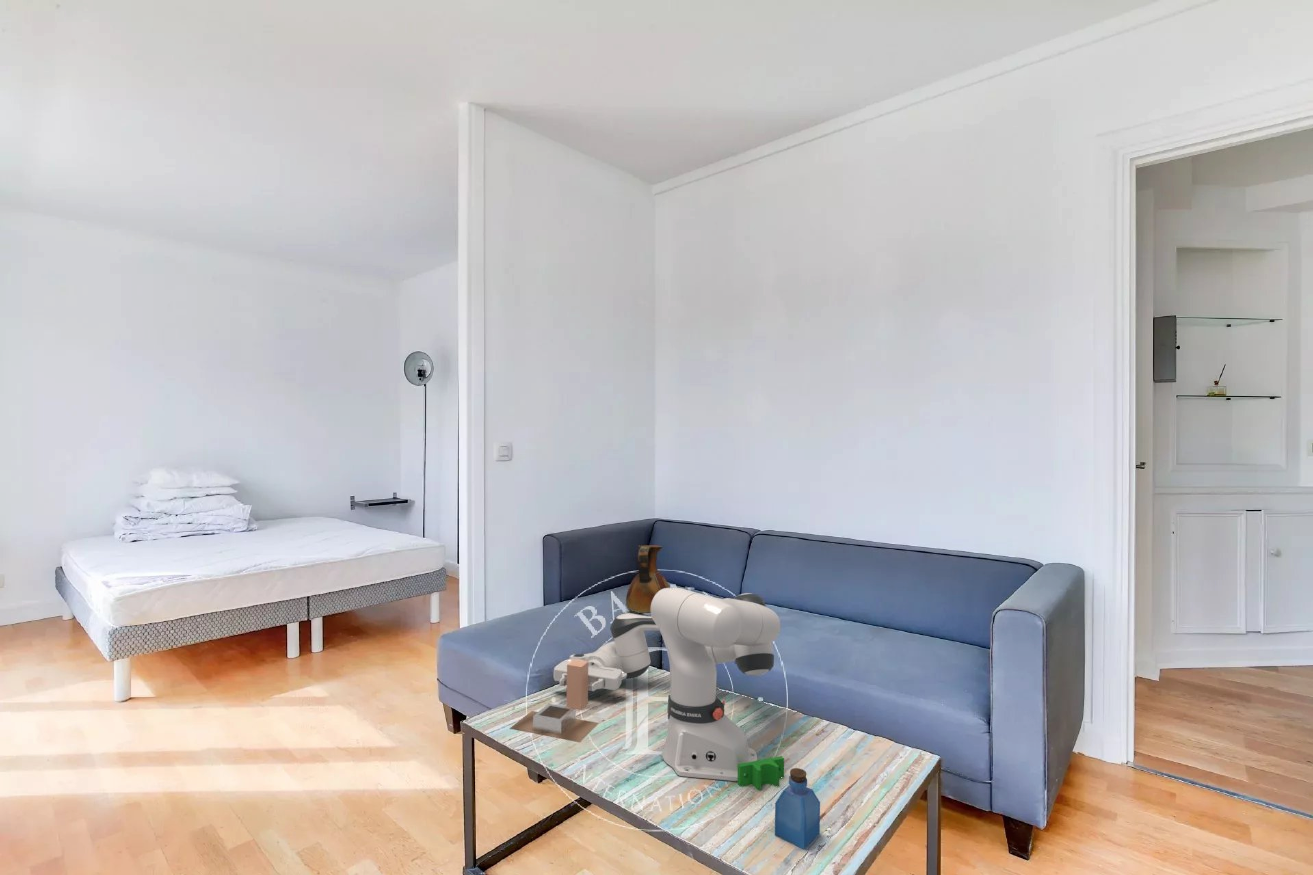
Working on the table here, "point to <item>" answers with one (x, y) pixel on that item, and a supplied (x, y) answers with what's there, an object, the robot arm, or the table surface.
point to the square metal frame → (554, 719)
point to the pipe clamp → (761, 772)
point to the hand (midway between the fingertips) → (576, 685)
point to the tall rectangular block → (577, 684)
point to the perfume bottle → (797, 811)
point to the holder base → (572, 733)
